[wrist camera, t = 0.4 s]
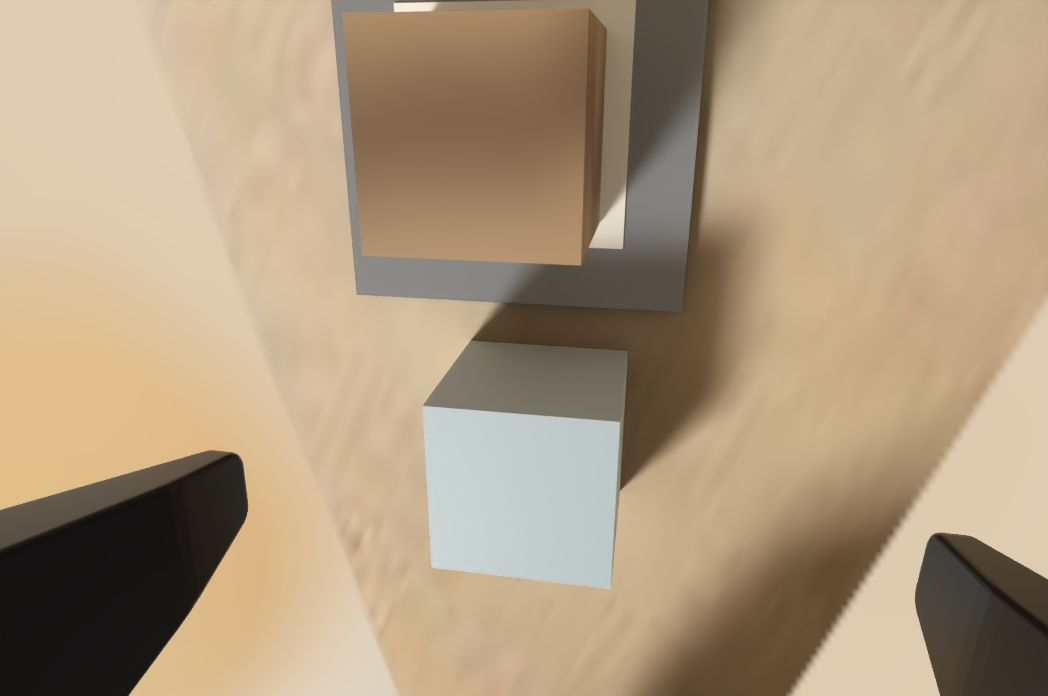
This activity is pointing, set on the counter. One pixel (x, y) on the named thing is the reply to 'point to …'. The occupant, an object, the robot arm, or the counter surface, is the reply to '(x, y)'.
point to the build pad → (626, 172)
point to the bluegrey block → (527, 462)
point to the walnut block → (477, 132)
